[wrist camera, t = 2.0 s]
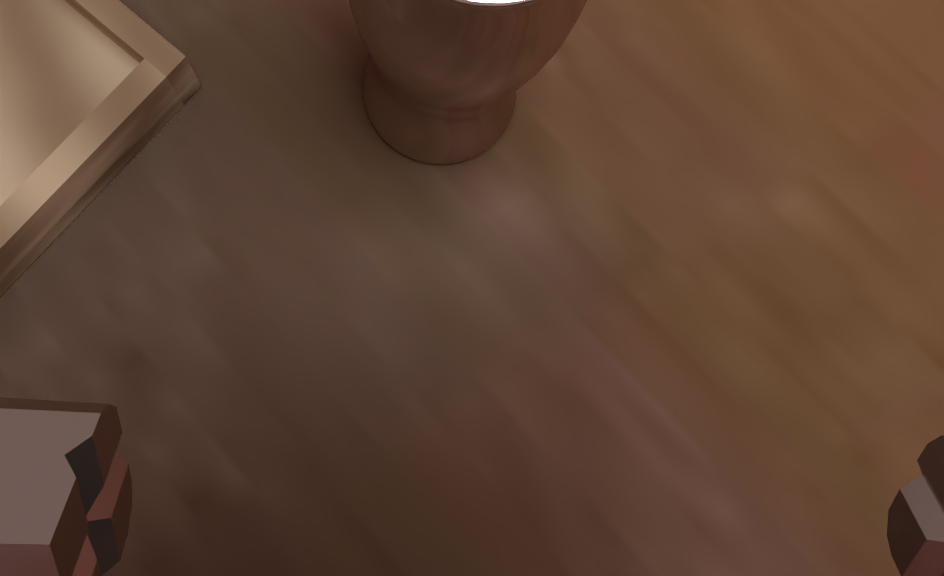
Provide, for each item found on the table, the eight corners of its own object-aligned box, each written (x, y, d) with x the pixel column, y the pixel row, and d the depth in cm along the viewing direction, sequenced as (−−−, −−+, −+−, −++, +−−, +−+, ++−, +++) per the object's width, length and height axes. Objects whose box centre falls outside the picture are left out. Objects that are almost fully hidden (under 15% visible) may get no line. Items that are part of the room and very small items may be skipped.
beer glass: (420, 210, 35) (457, 71, 20) (315, 69, 35) (276, -171, 20) (559, 113, 36) (690, -87, 21) (456, -24, 36) (516, -315, 22)
